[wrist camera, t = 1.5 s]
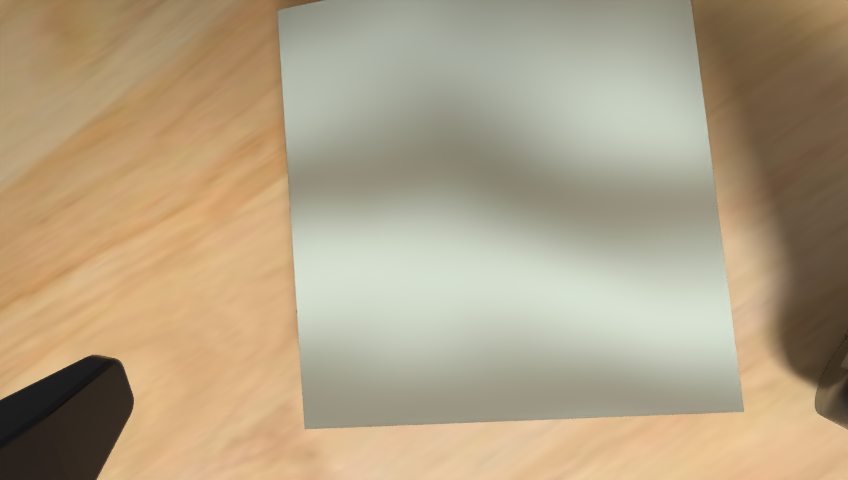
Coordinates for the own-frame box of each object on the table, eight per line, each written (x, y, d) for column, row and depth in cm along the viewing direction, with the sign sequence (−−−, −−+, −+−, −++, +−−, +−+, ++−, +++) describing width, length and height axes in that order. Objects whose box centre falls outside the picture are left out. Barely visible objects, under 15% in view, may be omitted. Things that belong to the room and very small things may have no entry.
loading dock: (725, 395, 21) (744, 412, 18) (340, 412, 24) (304, 429, 22) (671, -29, 23) (681, -76, 20) (313, 41, 26) (277, 10, 23)
